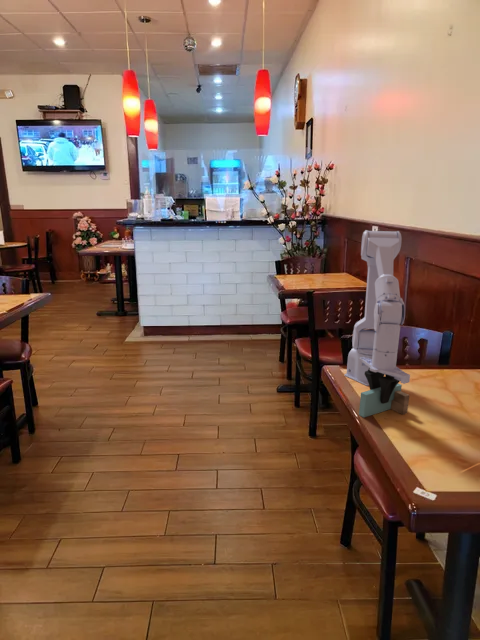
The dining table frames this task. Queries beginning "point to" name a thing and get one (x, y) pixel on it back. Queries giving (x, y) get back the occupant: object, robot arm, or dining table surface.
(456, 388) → the dining table surface
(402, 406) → the walnut slotted plate
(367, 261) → the robot arm
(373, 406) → the teal slotted plate
